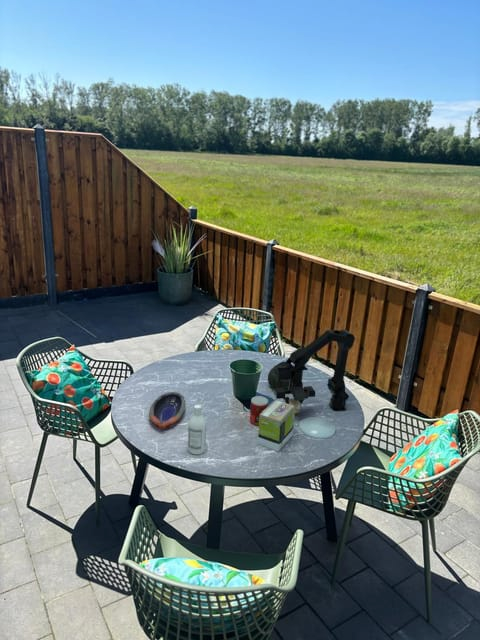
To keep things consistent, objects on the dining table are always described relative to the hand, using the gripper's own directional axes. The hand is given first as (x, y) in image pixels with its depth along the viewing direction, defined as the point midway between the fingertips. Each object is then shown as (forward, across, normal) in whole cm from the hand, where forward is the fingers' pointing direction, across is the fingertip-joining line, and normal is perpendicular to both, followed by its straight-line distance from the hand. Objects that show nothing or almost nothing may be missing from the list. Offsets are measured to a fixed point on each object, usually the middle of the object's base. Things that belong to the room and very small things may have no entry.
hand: (293, 408), depth 215 cm
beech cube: (+1, 0, 0) cm, 1 cm away
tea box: (+3, -14, -20) cm, 25 cm away
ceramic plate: (+3, +7, -14) cm, 16 cm away
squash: (+3, +2, +26) cm, 26 cm away
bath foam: (+3, -48, -23) cm, 53 cm away
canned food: (+3, -18, -5) cm, 19 cm away
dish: (+3, -58, +6) cm, 59 cm away
